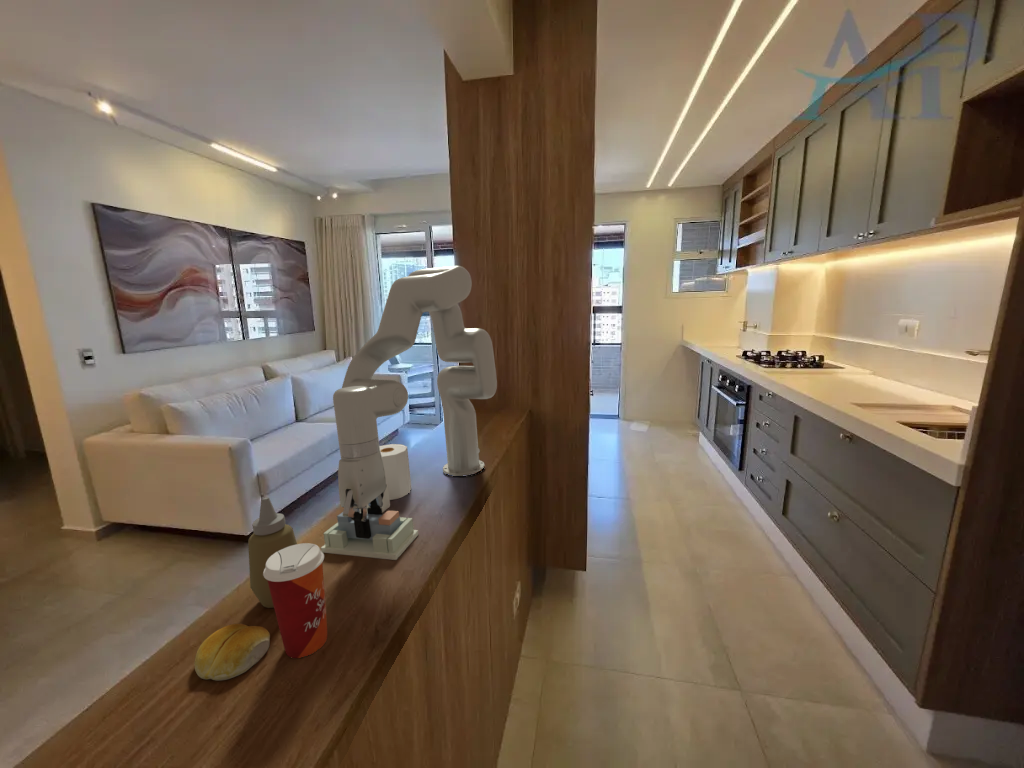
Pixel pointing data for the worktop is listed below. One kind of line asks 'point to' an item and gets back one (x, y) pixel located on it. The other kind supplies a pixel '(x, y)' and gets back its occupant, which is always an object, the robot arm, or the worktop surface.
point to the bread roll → (231, 651)
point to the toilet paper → (396, 469)
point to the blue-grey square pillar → (372, 524)
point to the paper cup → (298, 597)
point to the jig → (371, 542)
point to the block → (385, 500)
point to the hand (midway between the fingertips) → (370, 530)
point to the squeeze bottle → (266, 547)
